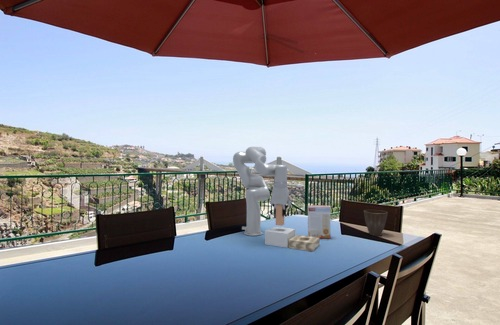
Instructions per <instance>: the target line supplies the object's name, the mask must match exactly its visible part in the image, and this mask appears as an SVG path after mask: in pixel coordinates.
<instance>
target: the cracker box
mask: <svg viewBox="0 0 500 325" xmlns="http://www.w3.org/2000/svg"><path fill="white" fill-rule="evenodd" d="M307 236H310V237H318V238H320V239H324V240H325V239H327V240H328V239H329V240H330V239H331V206H330V205H314V204H313V205H312V204H309V205H307Z"/></svg>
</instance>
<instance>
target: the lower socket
mask: <svg viewBox="0 0 500 325" xmlns="http://www.w3.org/2000/svg"><path fill="white" fill-rule="evenodd" d="M320 239H321V238H318V237H310V236H308V235H300V234H295V236H294V237H293V238H291V239H290V240H289V247H288V249H292V250H293V249H295V250H301V251H307V252H314V251H315V250H316V249H317V248H318V247H319V246H320V245H321V244H320Z"/></svg>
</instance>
